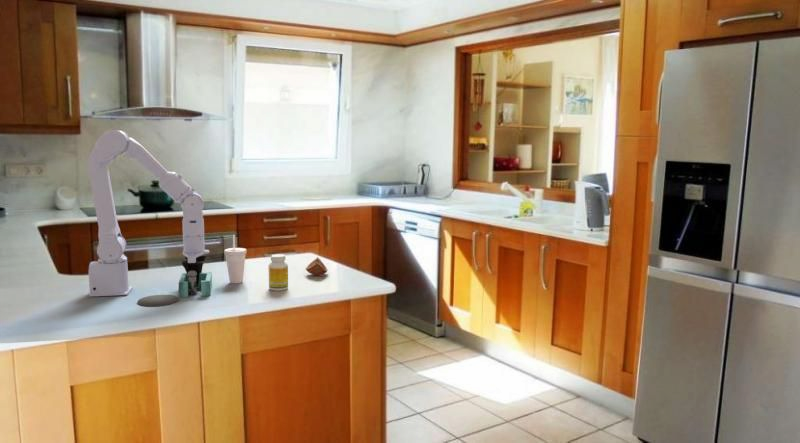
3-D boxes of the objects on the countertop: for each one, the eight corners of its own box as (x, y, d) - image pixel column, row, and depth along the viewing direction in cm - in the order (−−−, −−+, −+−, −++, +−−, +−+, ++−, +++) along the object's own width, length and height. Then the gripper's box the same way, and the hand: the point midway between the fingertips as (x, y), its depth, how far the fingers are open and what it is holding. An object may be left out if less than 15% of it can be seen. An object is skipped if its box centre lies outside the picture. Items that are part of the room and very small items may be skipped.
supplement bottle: (266, 287, 180) (265, 254, 179) (284, 285, 183) (284, 252, 181) (272, 291, 175) (271, 258, 174) (290, 289, 178) (290, 256, 177)
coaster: (134, 307, 159) (134, 305, 159) (141, 297, 168) (141, 295, 168) (176, 305, 161) (176, 303, 161) (180, 295, 171) (180, 293, 171)
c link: (179, 297, 169) (178, 282, 168) (182, 287, 179) (182, 273, 179) (210, 295, 171) (209, 281, 170) (212, 285, 181) (211, 272, 180)
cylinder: (187, 295, 171) (186, 271, 170) (188, 293, 173) (187, 269, 172) (197, 294, 171) (196, 270, 170) (197, 292, 174) (197, 268, 173)
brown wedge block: (327, 278, 192) (327, 262, 191) (305, 278, 192) (304, 262, 191) (327, 272, 200) (327, 256, 200) (306, 272, 200) (306, 256, 199)
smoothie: (238, 278, 191) (237, 232, 189) (251, 281, 187) (250, 235, 185) (220, 282, 186) (219, 235, 184) (233, 285, 182) (232, 237, 180)
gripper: (206, 239, 171) (207, 288, 172) (210, 231, 185) (212, 276, 187) (178, 240, 169) (180, 289, 171) (185, 231, 183) (186, 277, 185)
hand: (195, 282), depth 179 cm, fingers open, 6 cm apart
